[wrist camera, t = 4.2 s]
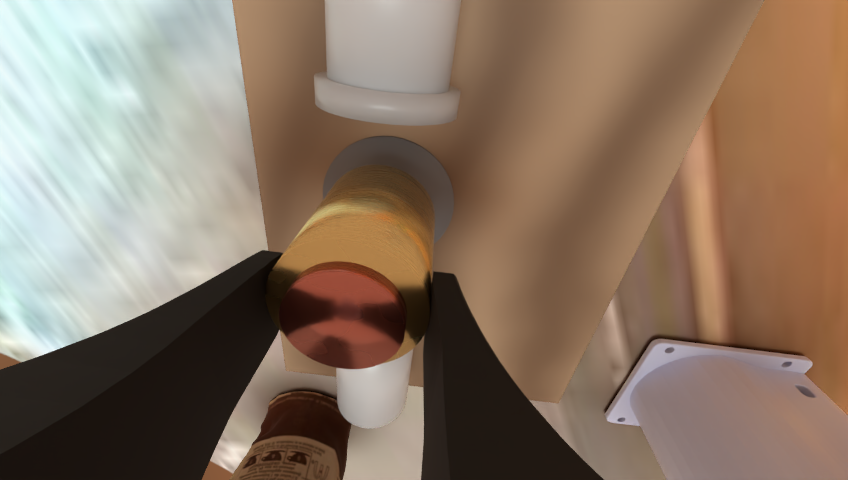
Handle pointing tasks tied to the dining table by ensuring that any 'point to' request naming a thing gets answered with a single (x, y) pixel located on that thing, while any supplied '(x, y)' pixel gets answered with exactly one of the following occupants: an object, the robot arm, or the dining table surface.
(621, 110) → the board
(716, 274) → the dining table surface
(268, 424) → the coffee cup
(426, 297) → the tan red-topped cylinder
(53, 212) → the dining table surface
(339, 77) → the pipe stubs
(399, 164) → the flange seat
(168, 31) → the dining table surface
